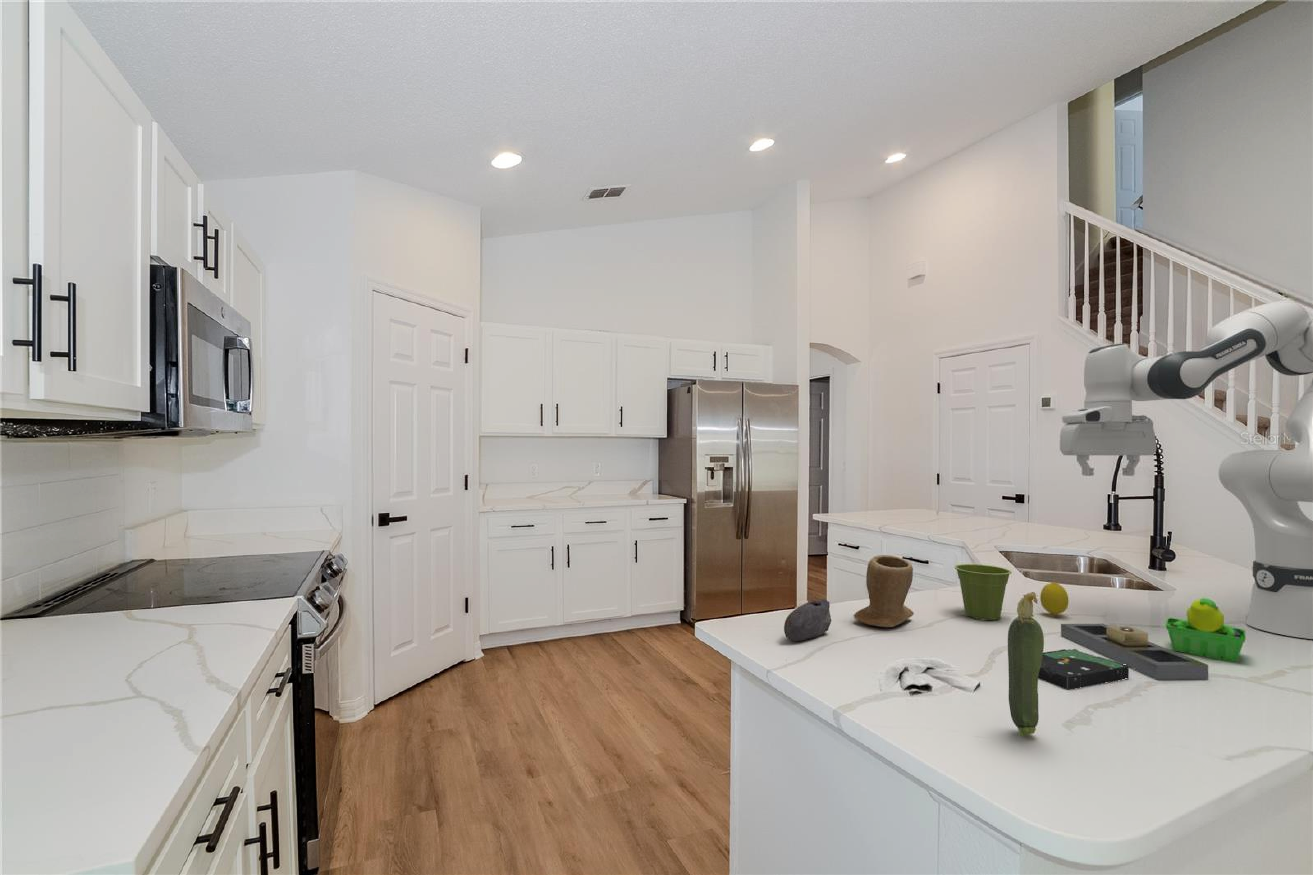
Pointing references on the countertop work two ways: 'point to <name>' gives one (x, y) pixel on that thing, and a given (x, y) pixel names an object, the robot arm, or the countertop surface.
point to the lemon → (1054, 598)
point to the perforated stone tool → (808, 620)
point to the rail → (1137, 654)
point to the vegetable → (1024, 666)
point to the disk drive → (1079, 669)
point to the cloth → (908, 666)
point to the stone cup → (887, 591)
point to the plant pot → (982, 589)
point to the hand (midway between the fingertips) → (1108, 475)
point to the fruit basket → (1205, 633)
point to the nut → (1127, 636)
